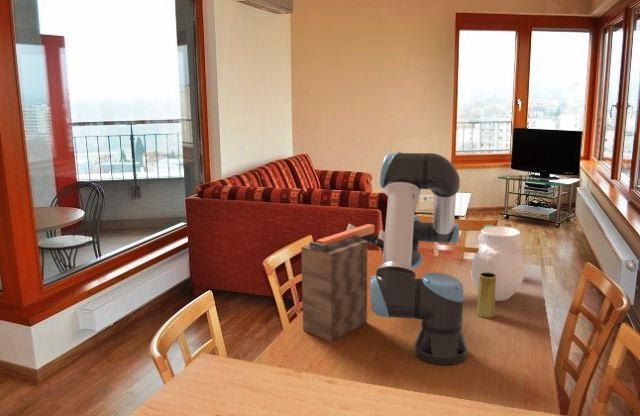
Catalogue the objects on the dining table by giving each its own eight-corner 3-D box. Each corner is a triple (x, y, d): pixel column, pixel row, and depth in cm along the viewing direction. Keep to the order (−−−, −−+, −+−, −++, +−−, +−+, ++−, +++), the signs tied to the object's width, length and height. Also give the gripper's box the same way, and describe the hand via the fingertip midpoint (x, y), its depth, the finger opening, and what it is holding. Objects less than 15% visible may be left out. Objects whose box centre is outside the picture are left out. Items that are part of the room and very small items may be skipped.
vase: (498, 314, 192) (500, 274, 189) (489, 319, 188) (492, 279, 185) (481, 309, 196) (483, 270, 193) (473, 314, 192) (475, 275, 189)
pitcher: (533, 298, 206) (538, 231, 200) (500, 309, 196) (504, 240, 190) (492, 283, 221) (495, 221, 215) (459, 293, 211) (462, 229, 205)
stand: (339, 313, 195) (338, 229, 188) (366, 322, 187) (367, 235, 180) (303, 330, 182) (301, 240, 175) (331, 341, 174) (330, 247, 167)
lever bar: (368, 231, 193) (368, 223, 192) (374, 232, 191) (374, 225, 190) (316, 248, 174) (316, 240, 173) (323, 249, 172) (323, 241, 172)
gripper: (421, 265, 196) (391, 248, 180) (364, 252, 212) (332, 234, 197) (427, 245, 197) (398, 226, 182) (370, 233, 214) (339, 214, 198)
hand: (363, 230), depth 189 cm, fingers open, 13 cm apart
